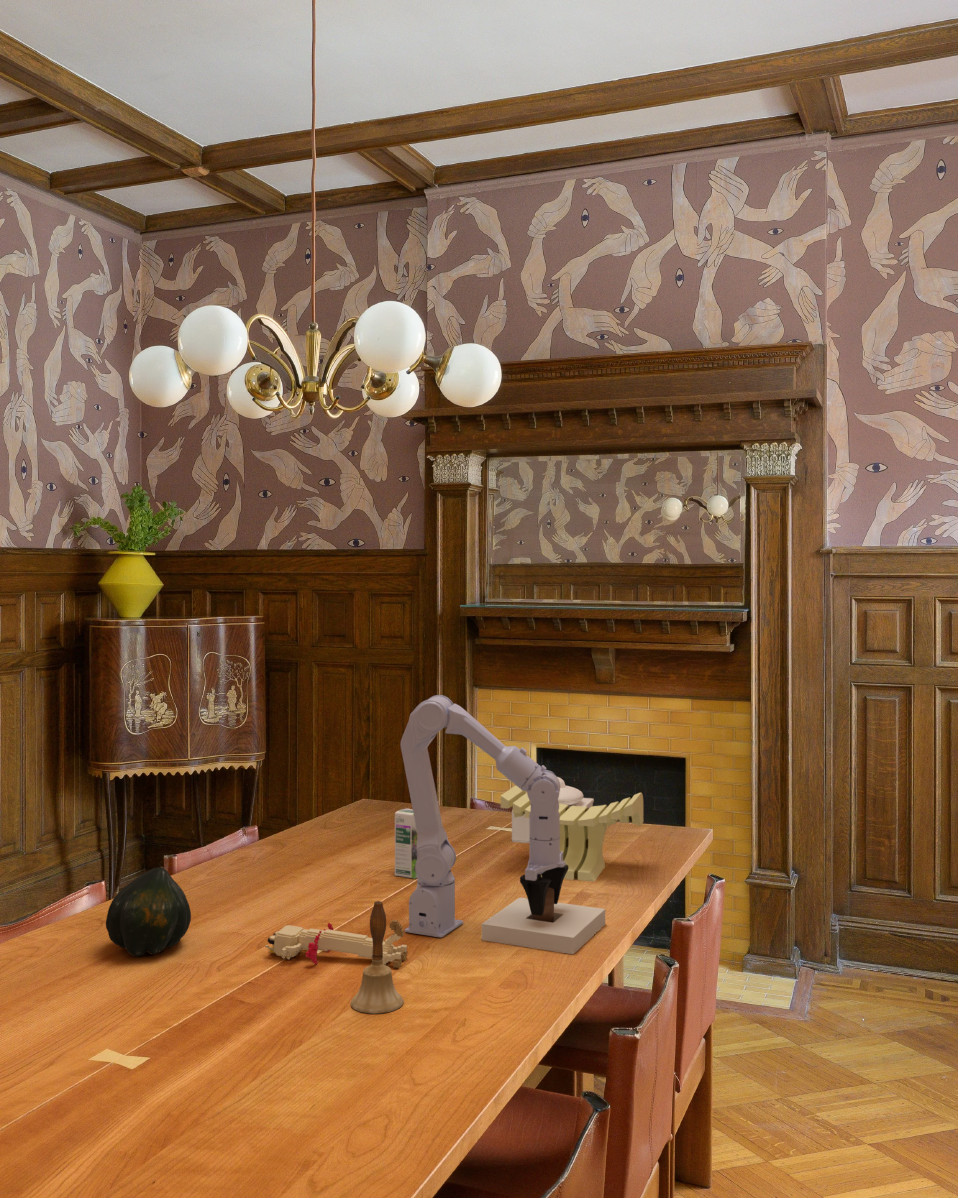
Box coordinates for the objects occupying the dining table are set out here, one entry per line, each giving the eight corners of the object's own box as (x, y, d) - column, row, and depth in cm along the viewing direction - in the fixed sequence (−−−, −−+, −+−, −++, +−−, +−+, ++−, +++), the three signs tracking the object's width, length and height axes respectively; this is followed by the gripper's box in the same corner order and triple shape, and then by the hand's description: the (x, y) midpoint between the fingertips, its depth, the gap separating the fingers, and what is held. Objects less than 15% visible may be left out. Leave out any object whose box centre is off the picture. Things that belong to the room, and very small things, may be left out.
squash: (86, 936, 179) (147, 866, 182) (94, 914, 193) (150, 849, 196) (151, 985, 182) (210, 915, 184) (154, 959, 196) (209, 895, 199)
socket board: (573, 954, 185) (573, 937, 185) (481, 940, 193) (481, 924, 193) (605, 924, 201) (605, 909, 201) (519, 912, 209) (519, 897, 209)
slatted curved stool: (643, 866, 243) (643, 789, 243) (632, 884, 228) (632, 803, 228) (519, 856, 252) (519, 782, 252) (500, 873, 237) (500, 795, 237)
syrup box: (393, 876, 235) (393, 812, 235) (407, 869, 240) (407, 807, 240) (415, 879, 233) (415, 814, 232) (428, 873, 238) (428, 809, 238)
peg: (547, 937, 194) (547, 894, 194) (529, 933, 196) (528, 891, 196) (557, 931, 198) (557, 889, 197) (539, 927, 200) (539, 885, 200)
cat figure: (409, 962, 186) (278, 941, 191) (413, 913, 185) (281, 893, 190) (393, 982, 176) (255, 960, 181) (397, 931, 176) (259, 910, 181)
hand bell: (377, 989, 169) (376, 891, 169) (414, 1002, 164) (414, 901, 164) (339, 1005, 163) (339, 903, 163) (377, 1019, 158) (376, 914, 158)
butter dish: (511, 842, 266) (511, 780, 266) (530, 827, 283) (530, 768, 283) (579, 847, 261) (579, 784, 261) (593, 831, 278) (593, 772, 278)
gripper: (550, 848, 188) (550, 923, 189) (577, 831, 201) (577, 901, 202) (514, 844, 191) (514, 917, 192) (543, 827, 204) (543, 896, 205)
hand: (544, 909), depth 197 cm, fingers open, 7 cm apart
